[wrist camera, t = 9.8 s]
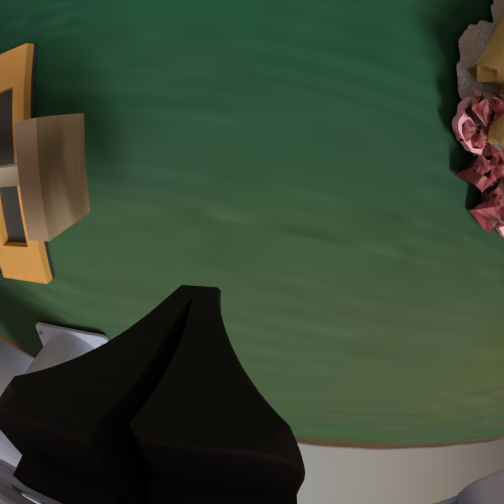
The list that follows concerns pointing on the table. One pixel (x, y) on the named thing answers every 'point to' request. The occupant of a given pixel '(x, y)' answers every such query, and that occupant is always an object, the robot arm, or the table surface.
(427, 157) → the table surface
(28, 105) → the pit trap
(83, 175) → the sled
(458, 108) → the candy landscape model
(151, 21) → the table surface
